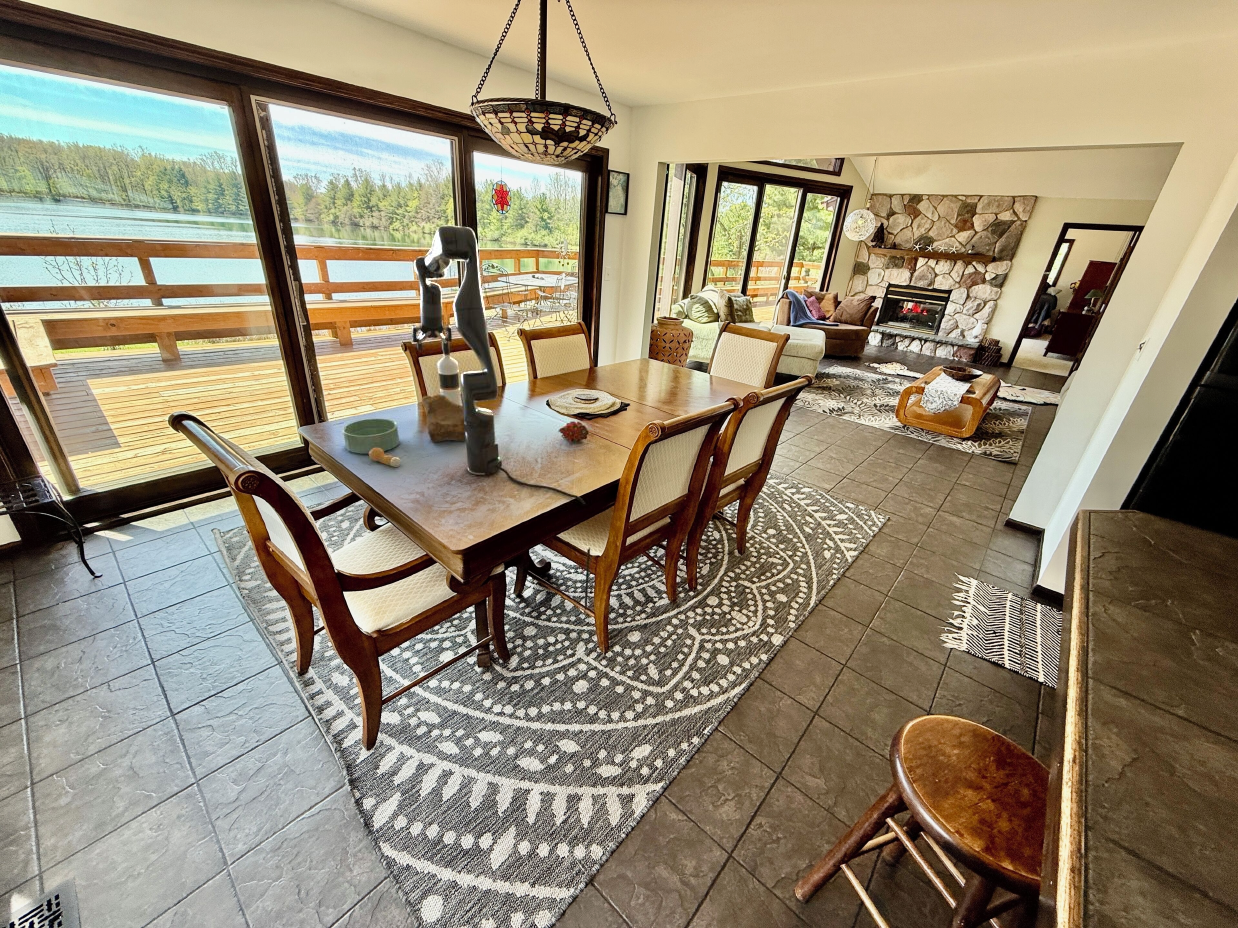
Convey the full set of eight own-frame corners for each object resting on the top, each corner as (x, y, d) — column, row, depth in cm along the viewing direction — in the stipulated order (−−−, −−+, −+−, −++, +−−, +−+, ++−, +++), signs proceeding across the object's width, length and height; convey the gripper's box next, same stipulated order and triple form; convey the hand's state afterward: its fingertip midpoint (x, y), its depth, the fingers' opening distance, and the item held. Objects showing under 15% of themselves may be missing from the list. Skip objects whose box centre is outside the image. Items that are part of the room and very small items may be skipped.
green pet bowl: (410, 442, 177) (407, 424, 174) (370, 459, 162) (366, 440, 159) (376, 432, 183) (373, 415, 180) (335, 447, 169) (331, 429, 165)
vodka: (446, 415, 203) (439, 344, 190) (437, 409, 209) (429, 340, 196) (466, 411, 209) (461, 342, 196) (457, 405, 215) (451, 338, 202)
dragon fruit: (589, 447, 186) (560, 447, 189) (592, 429, 190) (563, 429, 193) (584, 435, 179) (554, 436, 182) (587, 416, 183) (557, 417, 186)
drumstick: (405, 465, 160) (403, 452, 158) (394, 470, 156) (392, 457, 154) (378, 456, 165) (376, 444, 163) (367, 461, 161) (364, 448, 159)
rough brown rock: (407, 443, 178) (401, 406, 170) (432, 424, 192) (428, 389, 184) (464, 454, 174) (460, 417, 166) (486, 434, 188) (483, 399, 180)
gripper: (412, 316, 172) (414, 356, 183) (453, 316, 179) (453, 355, 189) (409, 307, 177) (411, 346, 187) (449, 307, 184) (449, 345, 194)
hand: (432, 350), depth 188 cm, fingers open, 8 cm apart
